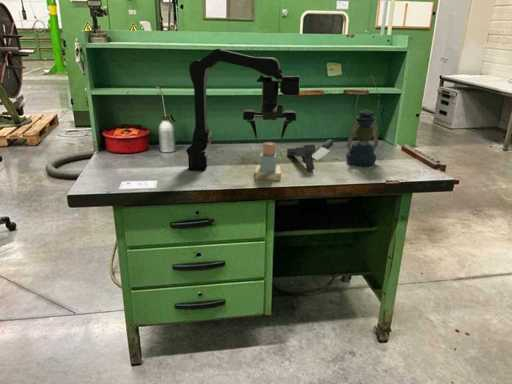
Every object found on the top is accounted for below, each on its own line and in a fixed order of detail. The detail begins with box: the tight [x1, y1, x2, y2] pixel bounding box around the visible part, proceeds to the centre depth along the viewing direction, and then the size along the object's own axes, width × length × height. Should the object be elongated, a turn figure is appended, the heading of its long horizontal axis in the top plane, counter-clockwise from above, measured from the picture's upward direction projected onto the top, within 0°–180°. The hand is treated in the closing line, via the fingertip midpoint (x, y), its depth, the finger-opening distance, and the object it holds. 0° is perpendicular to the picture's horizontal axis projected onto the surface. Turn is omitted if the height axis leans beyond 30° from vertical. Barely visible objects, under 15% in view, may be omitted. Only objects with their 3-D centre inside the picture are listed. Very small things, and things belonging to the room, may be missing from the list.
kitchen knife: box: [312, 138, 334, 161], centre depth 187 cm, size 29×3×5 cm
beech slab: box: [254, 164, 282, 181], centre depth 154 cm, size 9×9×2 cm
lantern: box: [345, 74, 380, 168], centre depth 166 cm, size 14×12×35 cm
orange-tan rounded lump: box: [262, 141, 276, 157], centre depth 151 cm, size 4×4×4 cm
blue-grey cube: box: [259, 152, 277, 172], centre depth 153 cm, size 6×6×6 cm
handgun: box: [286, 144, 317, 172], centre depth 170 cm, size 4×24×10 cm, turn 16°
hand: (268, 138), depth 154 cm, fingers open, 9 cm apart
